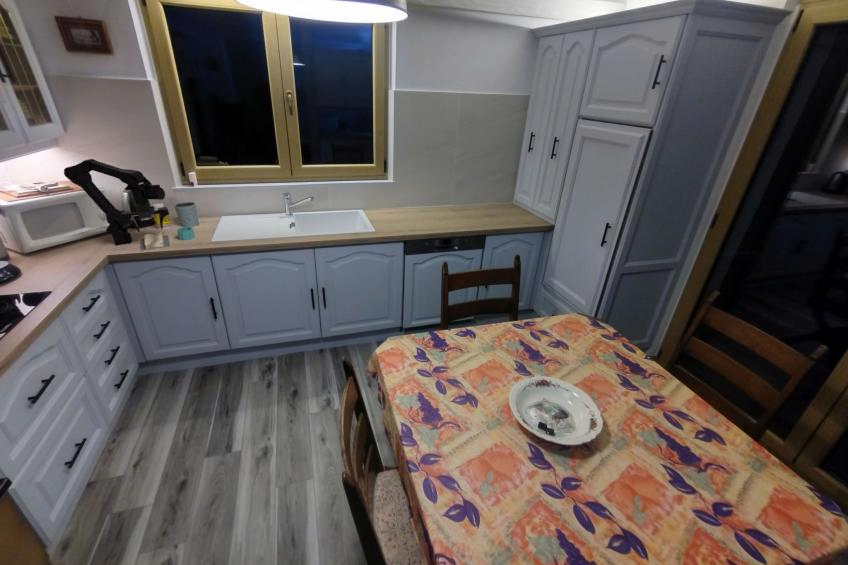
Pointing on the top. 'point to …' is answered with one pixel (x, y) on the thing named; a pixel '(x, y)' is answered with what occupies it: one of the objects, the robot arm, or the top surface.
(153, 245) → the cover board
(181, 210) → the grey-green cup
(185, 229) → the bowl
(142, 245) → the mat
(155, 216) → the supplement bottle
